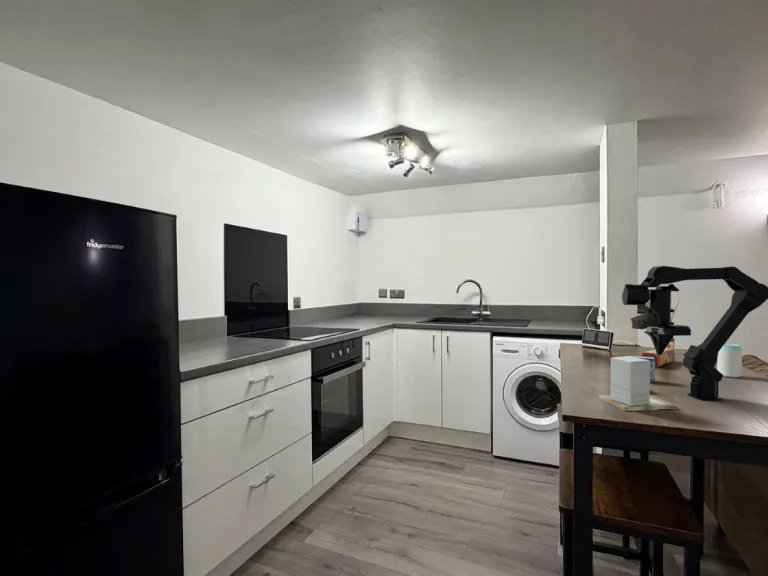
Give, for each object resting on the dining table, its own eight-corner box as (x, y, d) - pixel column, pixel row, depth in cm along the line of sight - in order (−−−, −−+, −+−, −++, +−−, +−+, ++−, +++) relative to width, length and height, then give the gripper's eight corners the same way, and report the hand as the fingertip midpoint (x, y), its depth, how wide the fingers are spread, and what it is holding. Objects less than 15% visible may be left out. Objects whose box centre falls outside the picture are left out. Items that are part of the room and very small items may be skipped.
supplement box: (650, 404, 120) (651, 360, 120) (630, 406, 118) (630, 361, 118) (629, 397, 128) (629, 355, 127) (609, 399, 125) (609, 357, 125)
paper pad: (648, 397, 132) (648, 393, 132) (677, 409, 120) (677, 404, 120) (599, 398, 131) (599, 394, 131) (624, 410, 119) (624, 406, 119)
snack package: (659, 360, 189) (659, 345, 189) (676, 362, 184) (676, 347, 184) (640, 366, 176) (640, 350, 176) (658, 369, 171) (658, 353, 171)
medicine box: (629, 381, 152) (630, 357, 152) (627, 378, 156) (628, 355, 156) (655, 383, 149) (655, 358, 149) (652, 380, 153) (652, 356, 153)
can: (746, 378, 155) (747, 346, 154) (727, 378, 155) (727, 346, 154) (731, 374, 162) (731, 343, 161) (712, 374, 162) (713, 343, 162)
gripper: (617, 303, 142) (616, 349, 142) (657, 308, 123) (656, 360, 124) (648, 303, 143) (647, 349, 143) (692, 307, 124) (692, 360, 125)
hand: (659, 354), depth 134 cm, fingers closed
